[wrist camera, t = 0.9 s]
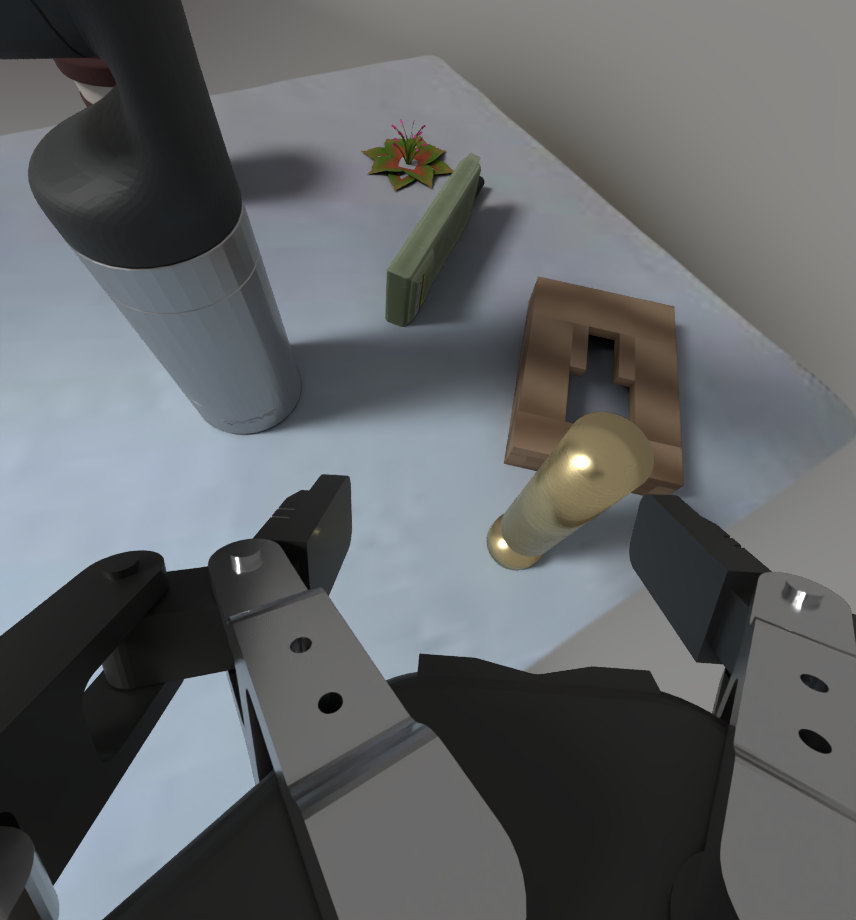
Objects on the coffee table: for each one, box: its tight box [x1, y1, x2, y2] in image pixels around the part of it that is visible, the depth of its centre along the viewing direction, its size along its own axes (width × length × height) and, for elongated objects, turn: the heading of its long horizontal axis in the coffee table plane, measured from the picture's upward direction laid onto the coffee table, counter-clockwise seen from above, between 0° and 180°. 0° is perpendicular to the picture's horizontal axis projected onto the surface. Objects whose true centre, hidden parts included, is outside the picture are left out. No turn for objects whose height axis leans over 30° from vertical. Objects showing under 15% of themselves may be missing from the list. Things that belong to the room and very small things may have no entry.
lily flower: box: [361, 120, 454, 191], centre depth 53 cm, size 12×12×5 cm
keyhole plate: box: [504, 277, 683, 496], centre depth 40 cm, size 20×14×3 cm
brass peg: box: [487, 412, 654, 570], centre depth 27 cm, size 4×4×17 cm
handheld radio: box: [385, 153, 484, 327], centre depth 46 cm, size 7×3×25 cm
